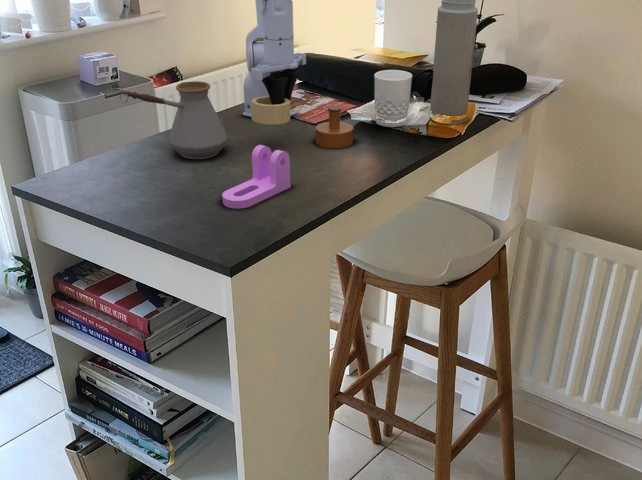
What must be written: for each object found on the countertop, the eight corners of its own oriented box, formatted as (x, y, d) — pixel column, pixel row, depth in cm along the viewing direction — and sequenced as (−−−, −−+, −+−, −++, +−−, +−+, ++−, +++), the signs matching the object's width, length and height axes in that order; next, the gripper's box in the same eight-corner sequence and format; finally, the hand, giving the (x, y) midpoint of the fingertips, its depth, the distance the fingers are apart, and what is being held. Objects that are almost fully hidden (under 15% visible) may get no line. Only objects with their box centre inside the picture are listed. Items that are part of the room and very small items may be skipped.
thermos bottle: (467, 114, 167) (481, -26, 151) (465, 125, 160) (480, -19, 144) (430, 112, 168) (441, -27, 152) (427, 123, 162) (439, -20, 146)
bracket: (267, 179, 137) (265, 142, 133) (290, 187, 134) (289, 149, 130) (216, 202, 129) (212, 163, 125) (239, 211, 126) (236, 171, 122)
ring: (244, 119, 148) (244, 101, 146) (268, 112, 153) (268, 94, 151) (273, 127, 144) (273, 108, 142) (297, 119, 149) (297, 100, 147)
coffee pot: (204, 138, 155) (196, 62, 147) (240, 151, 149) (235, 73, 140) (115, 166, 143) (102, 85, 134) (151, 182, 136) (140, 98, 128)
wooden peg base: (308, 143, 152) (307, 109, 148) (329, 133, 157) (329, 99, 153) (339, 151, 149) (339, 116, 145) (360, 140, 154) (361, 106, 150)
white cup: (410, 128, 159) (413, 80, 154) (373, 128, 160) (375, 80, 154) (407, 116, 166) (410, 69, 160) (371, 116, 166) (373, 69, 160)
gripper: (270, 47, 135) (273, 122, 143) (318, 32, 145) (318, 103, 153) (240, 42, 139) (245, 115, 147) (289, 27, 148) (291, 97, 156)
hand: (280, 109), depth 150 cm, fingers closed on ring
